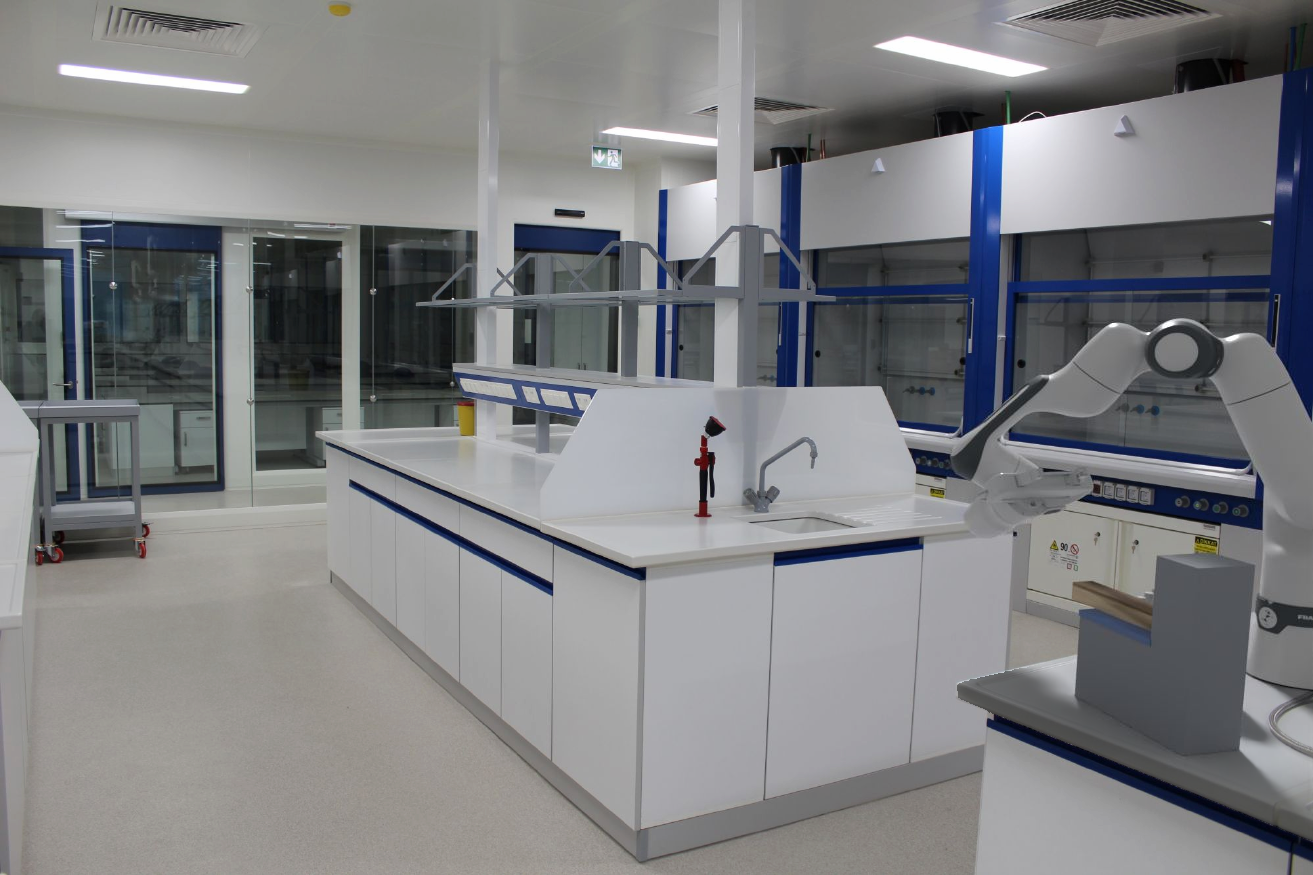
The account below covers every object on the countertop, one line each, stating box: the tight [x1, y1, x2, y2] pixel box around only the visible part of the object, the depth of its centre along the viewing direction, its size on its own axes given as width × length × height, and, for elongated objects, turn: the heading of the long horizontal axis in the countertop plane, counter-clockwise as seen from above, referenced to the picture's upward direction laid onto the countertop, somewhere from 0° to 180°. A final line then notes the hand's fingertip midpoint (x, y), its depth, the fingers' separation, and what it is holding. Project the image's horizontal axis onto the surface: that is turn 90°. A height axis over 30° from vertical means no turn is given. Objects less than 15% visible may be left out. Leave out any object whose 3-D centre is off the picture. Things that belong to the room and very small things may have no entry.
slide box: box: [1071, 580, 1153, 631], centre depth 163 cm, size 4×20×3 cm, turn 15°
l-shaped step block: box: [1074, 552, 1256, 757], centre depth 155 cm, size 10×24×28 cm, turn 15°
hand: (1062, 471), depth 177 cm, fingers open, 8 cm apart
